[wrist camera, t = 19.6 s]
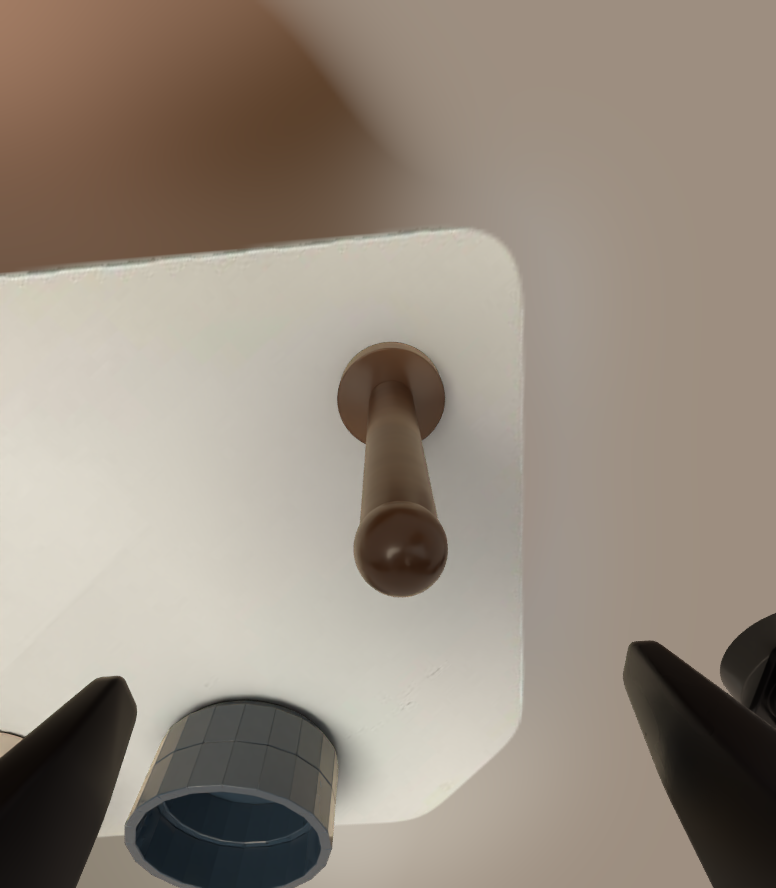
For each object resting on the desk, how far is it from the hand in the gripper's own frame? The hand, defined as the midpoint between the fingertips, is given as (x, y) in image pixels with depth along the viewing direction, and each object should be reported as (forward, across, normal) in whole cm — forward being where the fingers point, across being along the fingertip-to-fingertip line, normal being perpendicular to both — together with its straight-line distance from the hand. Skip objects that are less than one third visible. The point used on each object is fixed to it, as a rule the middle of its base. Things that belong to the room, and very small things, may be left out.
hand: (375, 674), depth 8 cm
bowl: (+13, +10, +23) cm, 28 cm away
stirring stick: (+13, -1, -1) cm, 13 cm away
